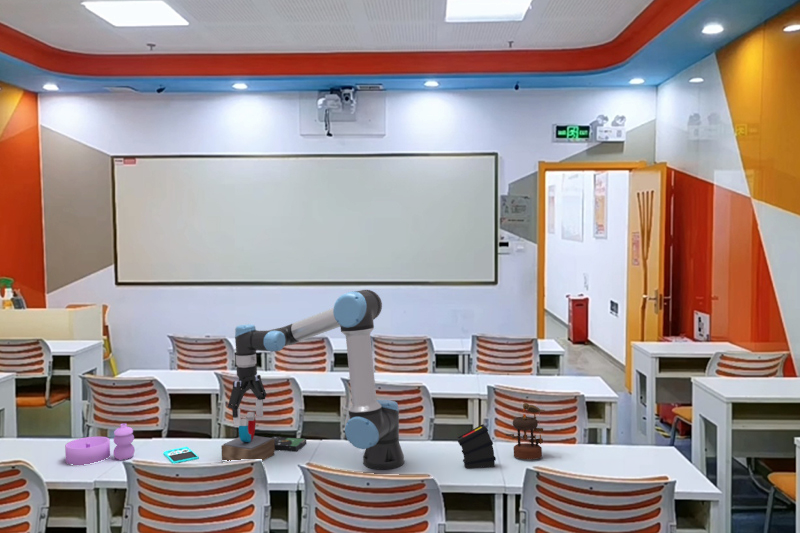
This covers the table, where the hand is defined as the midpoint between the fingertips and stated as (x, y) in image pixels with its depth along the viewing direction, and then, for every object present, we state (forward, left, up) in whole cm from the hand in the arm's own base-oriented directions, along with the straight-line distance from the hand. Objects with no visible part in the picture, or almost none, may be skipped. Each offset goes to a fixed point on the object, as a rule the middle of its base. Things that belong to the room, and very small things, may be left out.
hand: (248, 421), depth 240 cm
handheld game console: (+27, +8, -15) cm, 32 cm away
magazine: (-83, -24, -15) cm, 87 cm away
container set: (+53, +22, -15) cm, 59 cm away
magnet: (0, 0, -8) cm, 8 cm away
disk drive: (-5, -17, -15) cm, 23 cm away
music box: (-97, -41, -15) cm, 106 cm away
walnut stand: (0, 0, -14) cm, 14 cm away
